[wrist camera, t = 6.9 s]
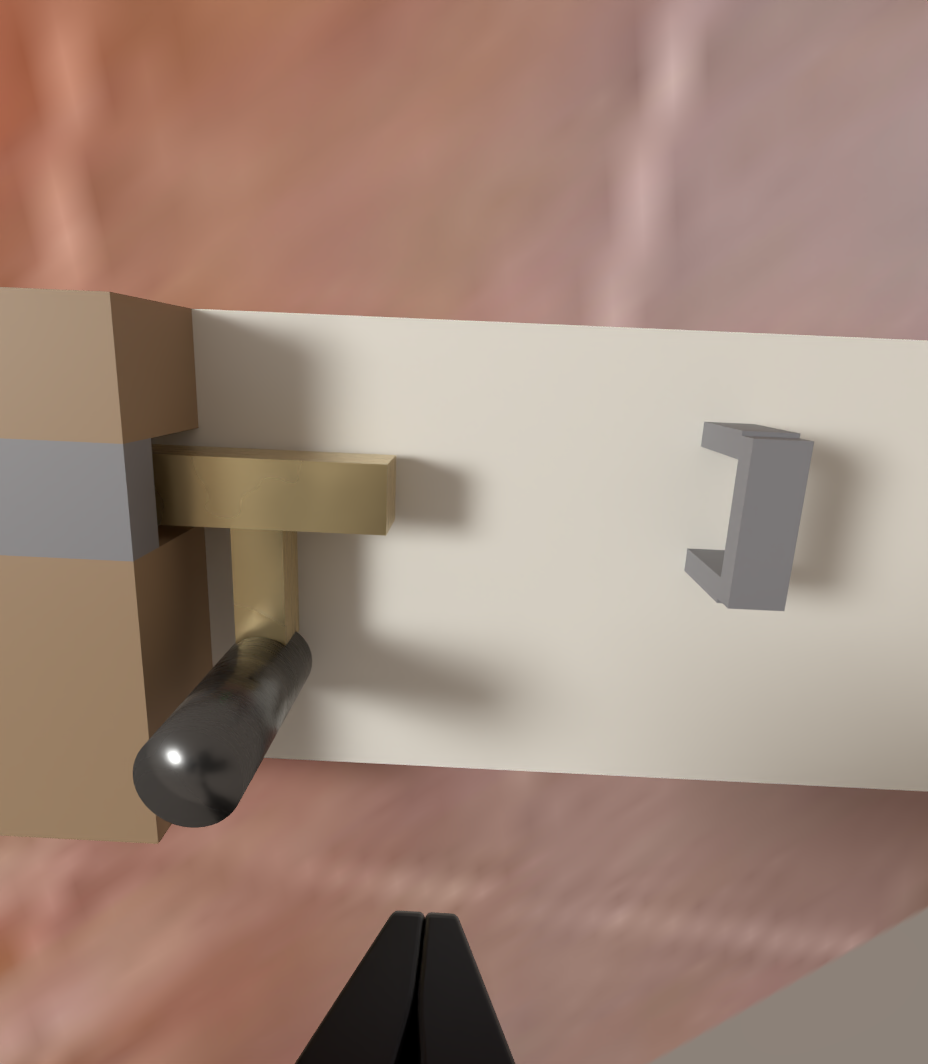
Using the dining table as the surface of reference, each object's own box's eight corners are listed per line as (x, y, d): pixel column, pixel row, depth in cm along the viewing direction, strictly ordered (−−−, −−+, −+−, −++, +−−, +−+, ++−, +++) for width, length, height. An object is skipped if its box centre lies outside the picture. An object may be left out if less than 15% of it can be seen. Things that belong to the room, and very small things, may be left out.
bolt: (392, 690, 17) (353, 835, 12) (20, 672, 17) (-184, 807, 12) (395, 455, 16) (353, 500, 10) (-13, 436, 16) (-264, 471, 10)
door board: (885, 750, 20) (1033, 890, 15) (116, 711, 20) (-15, 834, 15) (978, 348, 17) (1205, 339, 12) (75, 309, 17) (-105, 283, 12)
